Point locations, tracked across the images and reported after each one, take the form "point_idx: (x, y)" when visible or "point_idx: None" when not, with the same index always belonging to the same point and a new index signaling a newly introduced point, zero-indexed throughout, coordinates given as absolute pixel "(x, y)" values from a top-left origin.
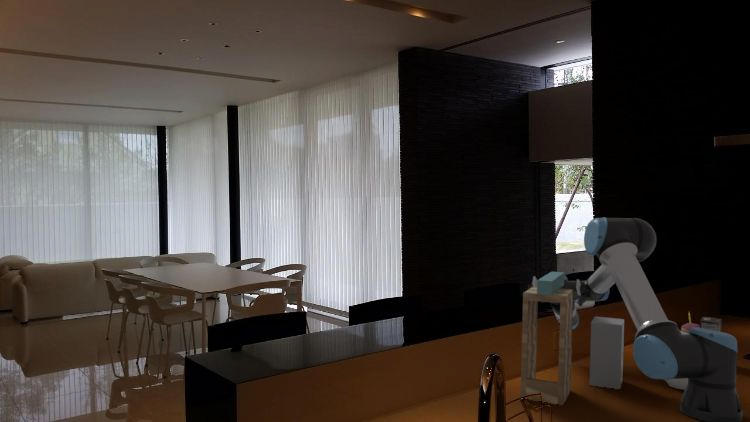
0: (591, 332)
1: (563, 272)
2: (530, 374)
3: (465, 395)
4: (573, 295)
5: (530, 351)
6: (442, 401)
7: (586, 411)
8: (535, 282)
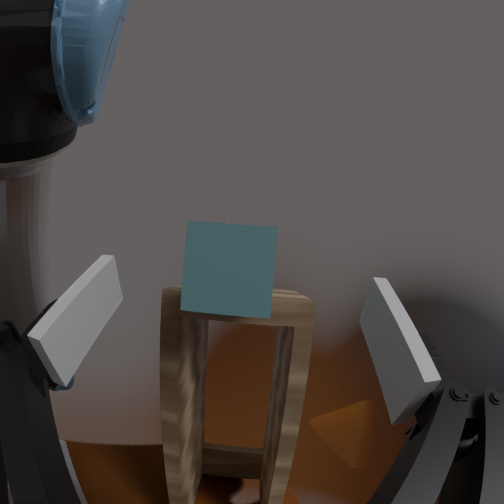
0: (73, 471)
1: (193, 222)
2: (263, 474)
3: (349, 455)
4: (54, 464)
5: (269, 432)
6: (357, 432)
7: (159, 453)
8: (369, 317)
